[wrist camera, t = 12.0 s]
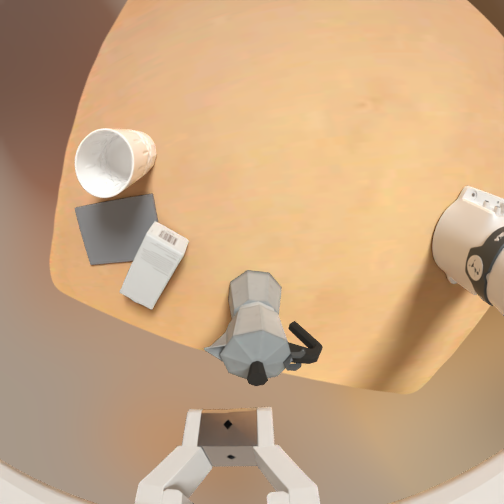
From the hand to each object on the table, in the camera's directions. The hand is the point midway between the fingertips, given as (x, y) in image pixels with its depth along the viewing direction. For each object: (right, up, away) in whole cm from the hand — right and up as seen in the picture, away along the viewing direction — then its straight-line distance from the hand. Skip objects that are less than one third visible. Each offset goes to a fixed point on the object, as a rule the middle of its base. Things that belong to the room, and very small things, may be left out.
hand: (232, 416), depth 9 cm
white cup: (-16, +20, +27) cm, 37 cm away
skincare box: (-10, +8, +29) cm, 32 cm away
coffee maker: (+2, -1, +37) cm, 37 cm away
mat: (-20, +9, +32) cm, 39 cm away
